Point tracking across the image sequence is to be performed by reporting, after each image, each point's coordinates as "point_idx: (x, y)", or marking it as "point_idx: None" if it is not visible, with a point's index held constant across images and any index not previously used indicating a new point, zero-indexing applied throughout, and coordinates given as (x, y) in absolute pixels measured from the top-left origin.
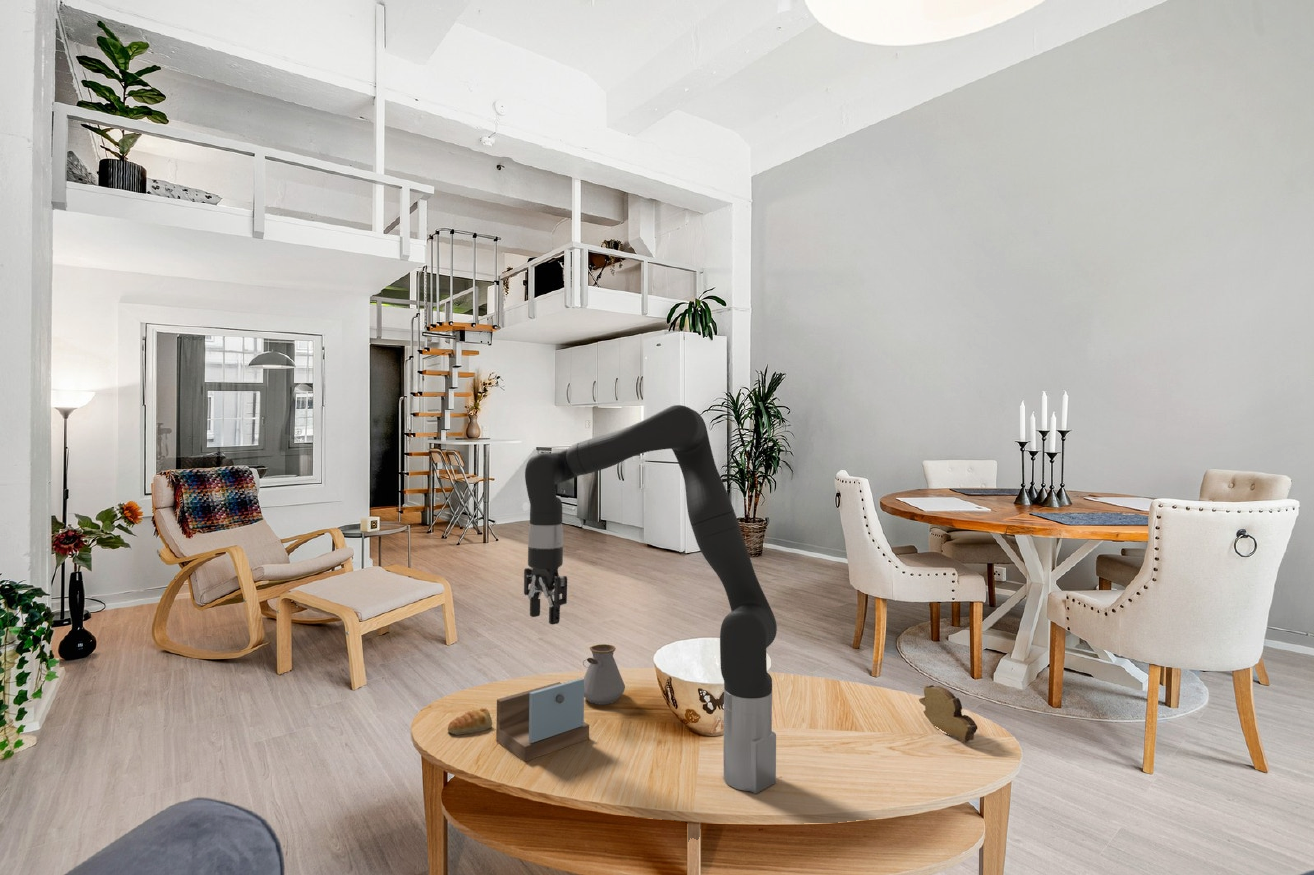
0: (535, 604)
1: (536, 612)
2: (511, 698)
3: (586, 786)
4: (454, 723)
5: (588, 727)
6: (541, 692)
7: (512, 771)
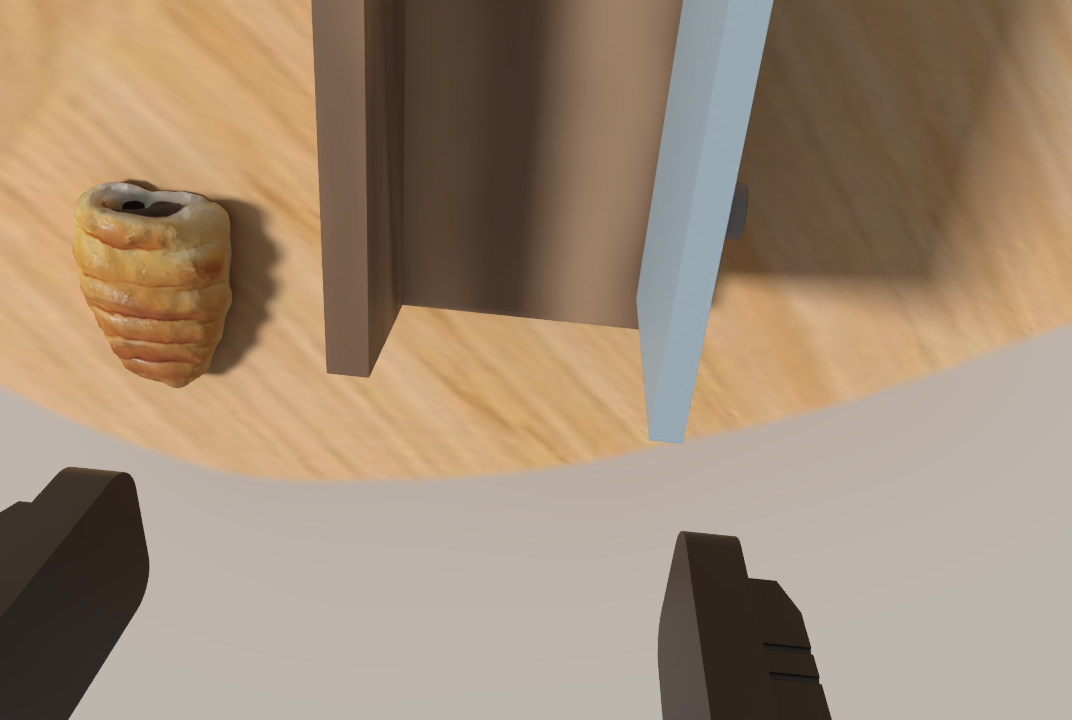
0: (30, 699)
1: (107, 560)
2: (367, 308)
3: (1041, 251)
4: (168, 377)
5: None
6: (695, 376)
7: None
